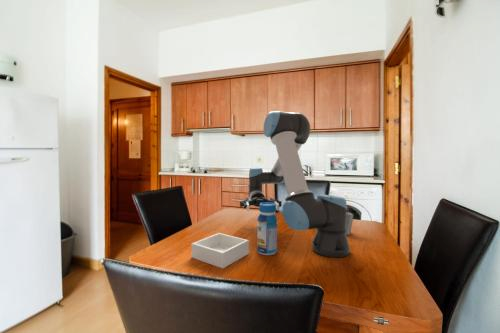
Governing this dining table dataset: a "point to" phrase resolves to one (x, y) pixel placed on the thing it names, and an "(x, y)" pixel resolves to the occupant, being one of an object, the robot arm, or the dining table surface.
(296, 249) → the dining table surface
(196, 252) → the box
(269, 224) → the beverage bottle
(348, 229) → the digital clock
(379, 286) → the dining table surface
